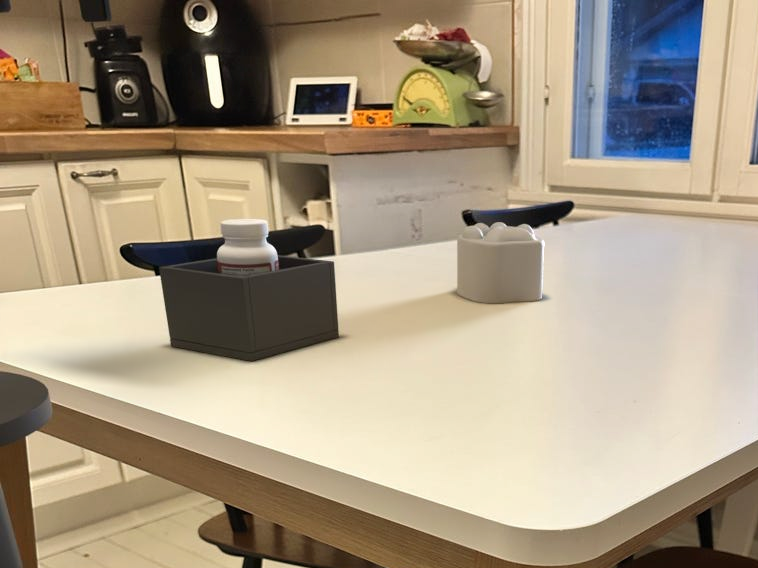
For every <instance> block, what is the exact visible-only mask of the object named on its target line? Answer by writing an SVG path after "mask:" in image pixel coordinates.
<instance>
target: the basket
mask: <svg viewBox="0 0 758 568" xmlns="http://www.w3.org/2000/svg"><path fill="white" fill-rule="evenodd" d="M277 256H278V264H279V270H276V271H270V272H265V273H259V274H253V275H248V276H243V277H241V276H234V275H226V274H219V270H218V262H217V257H214V258H209V259H202V260H195V261H189V262H184V263H178V264H170V265H165V266H159V267H158V271H159V277H160V283H161V289H162V296H163V303H164V308H165V309H164V310H165V316H166V322H167V328H168V335H169V342H170V346H171V347H175V348H180V349H184V350H188V351H189V350H190V351H195V352H200V353H206V354H211V355H216V356H222V357H227V358H232V359H237V360H243V361H249V362H254V361H257V360H260V359H265V358H267V357H272V356H275V355H279V354H283V353H286V352H290V351H294V350H297V349H300V348H305V347H308V346H311V345H315V344H318V343H322V342H326V341H329V340H333V339H336V338H339V337H340V331H339V316H338V315H339V314H338V301H337V299H338V298H337V286H336V271H335V268H336V267H335V261H332V260H325V259H317V258H316V259H314V258H306V257H297V256H289V255H281V254H277Z"/></svg>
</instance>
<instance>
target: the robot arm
mask: <svg viewBox="0 0 758 568" xmlns="http://www.w3.org/2000/svg"><path fill="white" fill-rule="evenodd" d="M78 3H79V9H80V14H81V18H82V20H83V21H84V22H85V23H107V22H111V21H112V11H111V3H110V0H78ZM11 10H12V4H11V0H0V14H4V13H5V14H6V13H9V12H10V11H11Z"/></svg>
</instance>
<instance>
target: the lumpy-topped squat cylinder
mask: <svg viewBox="0 0 758 568" xmlns="http://www.w3.org/2000/svg"><path fill="white" fill-rule="evenodd" d="M544 257H545V240H544V239H543V238H542V237H539V236H535V234H534V230H533V229H532V227H531V226H530V225H529V224H527V223H522V224H519V225H517V226H510V225H506V224H505V223H504V222H500V221H498V222H497V221H496V222H494V223H493V224H492V225H490V227H489V225H487V224H485V223H483V222H478V223H476V224H474V225H469V226H467V227H465V228H464V230H463V232H462V233H460V234H459V235H458V236H457V240H456V265H457V266H456V268H457V269H456V273H457V274H456V285H457V286H456V291H457V292H456V293H457V295H458V296H460V297H462V298H465V299H467V300H470V301H473V302H478V303H482V304H483V303H484V304H504V303H517V302H534V301H540V300H542V299H543V284H544V283H543V281H544V261H545V260H544V259H545V258H544Z"/></svg>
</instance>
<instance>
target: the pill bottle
mask: <svg viewBox="0 0 758 568" xmlns="http://www.w3.org/2000/svg"><path fill="white" fill-rule="evenodd" d="M269 232H270V231H269V223H268V221H267V220H265V219H260V218H234V219H225V220H222V221H220V235H222V236H221V237H222V238H223V239H224V243H223V244H222V245H221V246H220V247H219V248H218V250H217V252H216V258H217V262H218V270H219V274H226V275H234V276H241V277H243V276H248V275H253V274H259V273H265V272H270V271H276V270H279V264H278V256H277V255H278V252H277V250H276V248H275V247H274V246H273V245H272V244H271V243H269V242H268V241H267V238H268V237H269Z"/></svg>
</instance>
